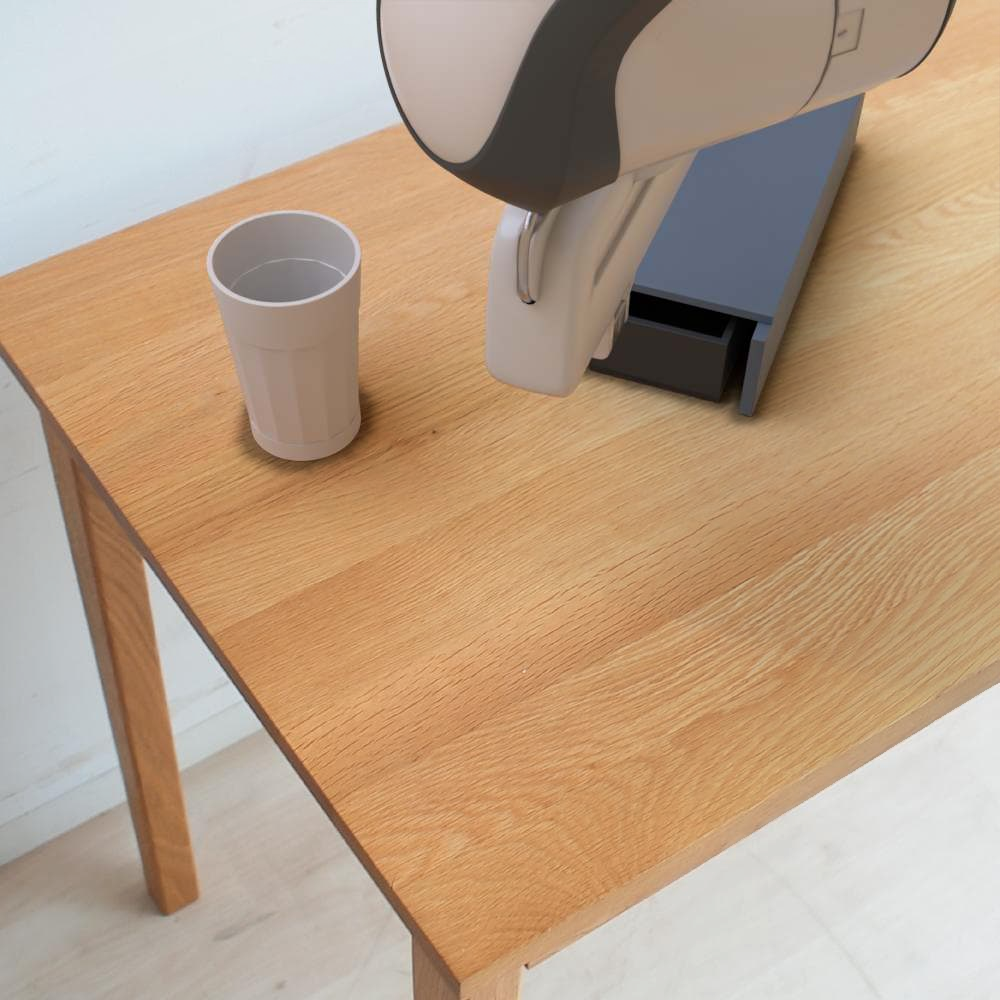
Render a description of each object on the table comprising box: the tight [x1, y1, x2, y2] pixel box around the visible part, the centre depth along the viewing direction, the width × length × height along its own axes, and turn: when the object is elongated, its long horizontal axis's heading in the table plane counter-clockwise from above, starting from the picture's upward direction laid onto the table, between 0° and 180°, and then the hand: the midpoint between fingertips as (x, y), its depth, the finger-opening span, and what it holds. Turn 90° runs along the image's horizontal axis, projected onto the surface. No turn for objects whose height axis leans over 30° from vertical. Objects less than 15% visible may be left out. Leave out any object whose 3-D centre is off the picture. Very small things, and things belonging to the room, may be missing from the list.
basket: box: [589, 291, 752, 403], centre depth 87 cm, size 10×8×4 cm
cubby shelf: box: [631, 92, 867, 417], centre depth 92 cm, size 29×12×6 cm, turn 159°
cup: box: [206, 209, 362, 462], centre depth 79 cm, size 8×8×12 cm
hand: (599, 338), depth 67 cm, fingers closed
